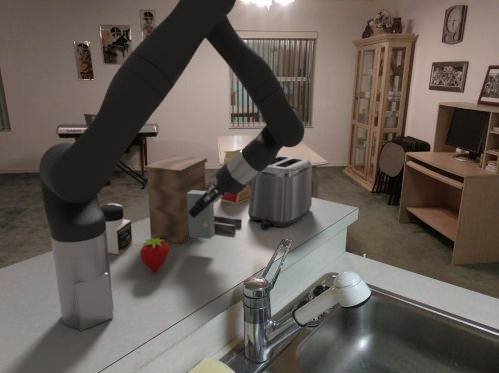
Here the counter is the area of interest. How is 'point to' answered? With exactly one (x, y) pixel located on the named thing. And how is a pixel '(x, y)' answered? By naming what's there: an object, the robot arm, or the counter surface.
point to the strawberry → (154, 254)
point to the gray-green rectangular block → (200, 217)
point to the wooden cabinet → (178, 197)
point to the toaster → (281, 192)
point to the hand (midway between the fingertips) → (194, 212)
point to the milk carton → (244, 193)
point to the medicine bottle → (117, 228)
